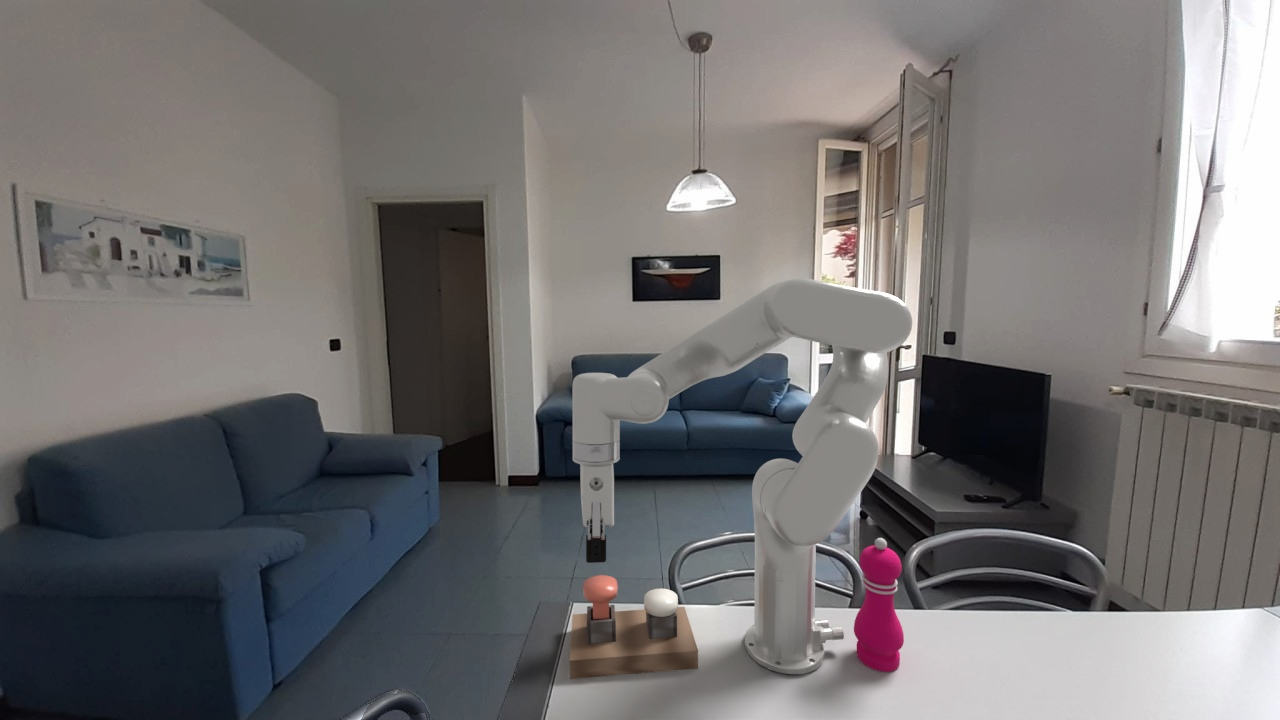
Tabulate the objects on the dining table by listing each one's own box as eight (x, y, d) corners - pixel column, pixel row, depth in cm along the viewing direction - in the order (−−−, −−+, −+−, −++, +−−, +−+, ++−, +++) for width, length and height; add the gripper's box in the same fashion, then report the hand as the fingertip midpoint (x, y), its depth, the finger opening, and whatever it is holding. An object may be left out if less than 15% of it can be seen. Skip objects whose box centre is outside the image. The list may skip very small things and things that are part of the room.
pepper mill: (909, 677, 76) (913, 550, 75) (858, 671, 78) (861, 547, 76) (895, 646, 83) (898, 530, 82) (849, 641, 85) (851, 527, 83)
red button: (617, 603, 86) (616, 574, 86) (618, 623, 80) (618, 592, 80) (584, 605, 85) (583, 576, 85) (583, 625, 80) (582, 594, 79)
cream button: (675, 616, 87) (674, 587, 87) (680, 636, 82) (680, 606, 81) (643, 618, 87) (642, 589, 86) (646, 639, 81) (645, 608, 81)
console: (684, 622, 91) (684, 588, 90) (698, 668, 79) (697, 629, 78) (573, 630, 89) (572, 595, 88) (569, 679, 77) (568, 638, 77)
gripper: (622, 463, 73) (621, 583, 75) (617, 438, 88) (616, 539, 90) (570, 464, 73) (570, 585, 74) (574, 439, 88) (574, 540, 89)
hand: (596, 559), depth 82 cm, fingers closed
